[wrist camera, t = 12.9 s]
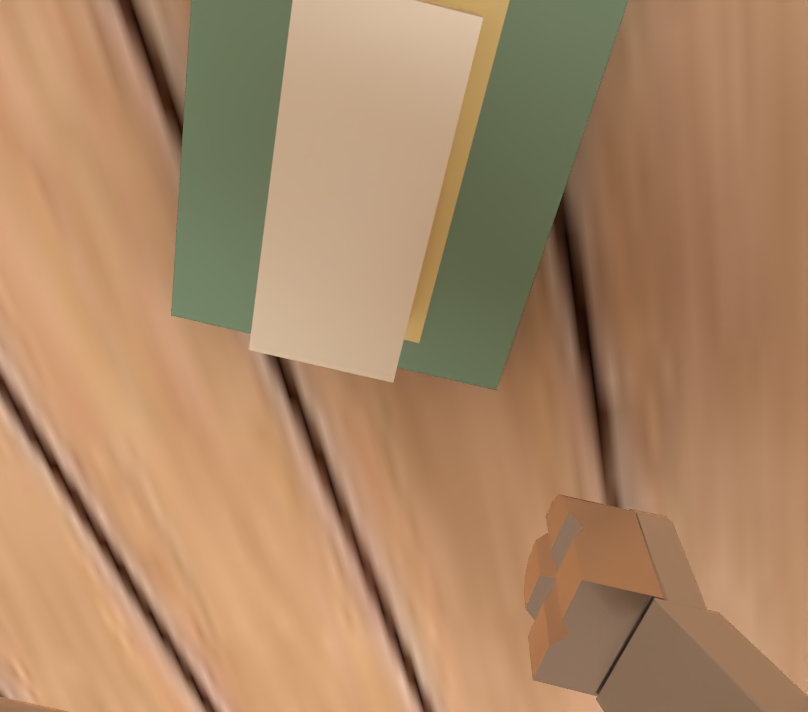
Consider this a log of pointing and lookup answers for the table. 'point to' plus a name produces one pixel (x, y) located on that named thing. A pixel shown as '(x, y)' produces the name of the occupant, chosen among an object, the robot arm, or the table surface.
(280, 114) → the housing
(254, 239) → the header board
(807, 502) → the table surface
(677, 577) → the robot arm
